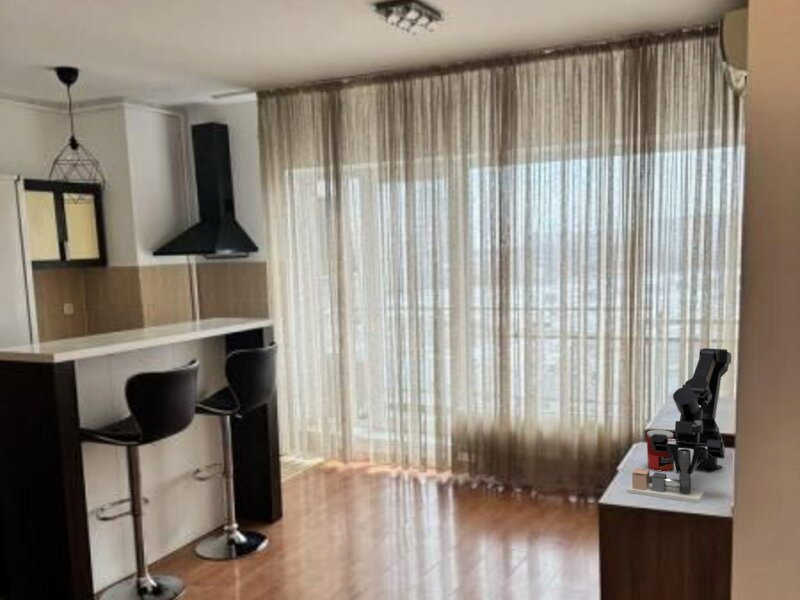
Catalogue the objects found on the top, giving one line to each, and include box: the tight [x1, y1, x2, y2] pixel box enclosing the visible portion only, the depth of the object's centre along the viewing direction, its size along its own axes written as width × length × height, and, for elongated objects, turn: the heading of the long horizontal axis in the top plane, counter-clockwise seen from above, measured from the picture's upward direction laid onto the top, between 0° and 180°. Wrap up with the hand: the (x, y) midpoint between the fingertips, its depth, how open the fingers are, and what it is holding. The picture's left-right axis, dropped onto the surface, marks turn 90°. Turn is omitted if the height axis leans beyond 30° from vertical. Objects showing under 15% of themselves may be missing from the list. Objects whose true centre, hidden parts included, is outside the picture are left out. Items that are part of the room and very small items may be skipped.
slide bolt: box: [649, 448, 692, 493], centre depth 196 cm, size 11×3×12 cm, turn 58°
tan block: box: [631, 467, 651, 490], centre depth 200 cm, size 4×4×5 cm
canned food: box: [646, 429, 675, 472], centre depth 218 cm, size 8×8×11 cm
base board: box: [626, 483, 704, 504], centre depth 197 cm, size 19×6×1 cm, turn 58°
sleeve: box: [651, 472, 668, 492], centre depth 198 cm, size 3×3×4 cm
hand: (683, 473), depth 193 cm, fingers closed on slide bolt, 3 cm apart
